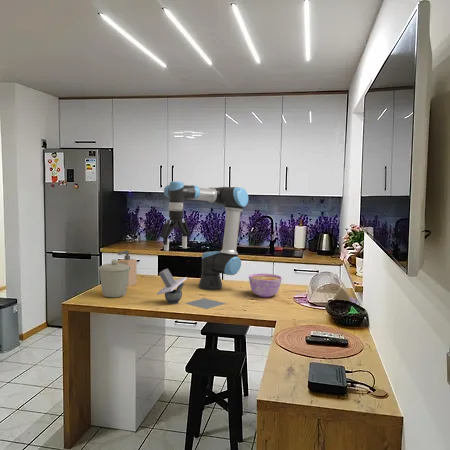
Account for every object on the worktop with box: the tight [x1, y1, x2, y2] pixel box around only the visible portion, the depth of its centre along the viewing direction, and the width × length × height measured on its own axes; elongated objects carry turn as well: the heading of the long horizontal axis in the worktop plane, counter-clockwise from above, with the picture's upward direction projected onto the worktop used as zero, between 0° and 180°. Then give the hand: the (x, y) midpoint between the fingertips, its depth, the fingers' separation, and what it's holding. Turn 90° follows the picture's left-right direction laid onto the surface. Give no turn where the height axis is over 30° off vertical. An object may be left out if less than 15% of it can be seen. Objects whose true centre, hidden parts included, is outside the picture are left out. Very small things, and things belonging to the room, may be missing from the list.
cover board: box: [156, 268, 188, 296], centre depth 243 cm, size 13×13×10 cm
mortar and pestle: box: [164, 281, 185, 305], centre depth 245 cm, size 11×9×12 cm
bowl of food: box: [248, 273, 283, 298], centre depth 268 cm, size 20×20×12 cm
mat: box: [185, 297, 227, 310], centre depth 246 cm, size 16×16×1 cm
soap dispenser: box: [117, 250, 138, 288], centre depth 285 cm, size 13×9×22 cm
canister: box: [97, 259, 131, 299], centre depth 258 cm, size 18×18×21 cm
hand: (175, 249), depth 243 cm, fingers open, 13 cm apart
